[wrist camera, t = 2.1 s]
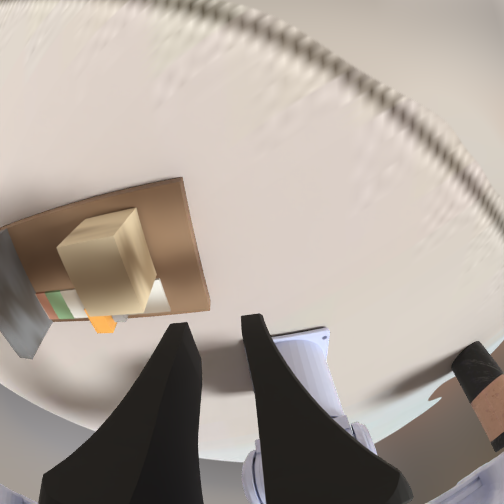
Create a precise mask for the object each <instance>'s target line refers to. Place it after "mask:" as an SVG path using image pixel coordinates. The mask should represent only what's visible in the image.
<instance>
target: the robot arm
mask: <svg viewBox="0 0 504 504" xmlns="http://www.w3.org/2000/svg"><path fill="white" fill-rule="evenodd" d="M241 327H242V336H243V341H244V347H245V352H246V357H247V361H248V366H249V371H250V376H251V380H252V385H253V389H254V393H255V399H256V409H257V418H258V428H259V438H260V439H258V440H255V445H256V450H253V451H251V452H250V453H249V454H248V456H247V458H246V459H245V461H244V464H243V467H242V482H243V488H244V492H245V495H246V497H247V499H248V501H249V503H250V504H407V503H408V502H410V501H412V499H413V494H412V490H411V488H410V486H409V484H408V482H407V480H406V479H405V477H404V476H403V475H402V473H401V472H400V471H399V470H398V469H397V468H395V467H394V466H392V465H391V464H389V463H387V462H386V461H384V460H383V459H381V458H380V457H379V456H377V452H376V449H375V447H374V443H373V441H372V438H371V435H370V433H369V431H368V429H367V427H366V426H365V425H363V424H360V423H359V422H354V423H352V424H351V426H352V431H353V434H352V431H351V428H350V425H349V422H348V419H347V416H346V415H344V412H343V409H342V406H341V403H340V400H339V397H338V394H337V391H336V388H335V385H334V382H333V379H332V376H331V373H330V370H329V367H328V364H327V362H326V359H327V352H328V345H329V337H330V331H329V329H328V328H321V329H316V330H311V331H306V332H300V333H295V334H289V335H283V336H276V337H271V335H270V333H269V331H268V329H267V327H266V324H265V322H264V319H263V315H261V314H252V315H245V316H241ZM323 336H324V337H323ZM201 391H202V367H201V357H200V355H199V352H198V349H197V347H196V344H195V342H194V339H193V336H192V334H191V331H190V328H189V326H188V323H187V322H184V323H173V324H170V325H169V327H168V328H167V330H166V332H165V333H164V335H163V337H162V339H161V341H160V342H159V344H158V346H157V347H156V349H155V351H154V353H153V354H152V356H151V358H150V359H149V361H148V362H147V364H146V366H145V367H144V369H143V371H142V372H141V374H140V375H139V377H138V378H137V380H136V381H135V383H134V384H133V386H132V387H131V389H130V390H129V392H128V393H127V395H126V396H125V397H124V399H123V400H122V401H121V403H120V404H119V405H118V407H117V408H116V409H115V410H114V411H113V413H112V414H111V415H110V416H109V418H108V419H107V420H106V421H105V422H104V423H103V424H102V425H101V426H100V428H99V429H98V430H97V431H96V432H95V433H94V434H93V435H92V436H91V437H90V438H89V439H88V440H87V441H86V442H85V443H84V444H82V445H81V446H80V447H79V448H78V449H77V450H76V451H75V452H73V453H72V454H71V455H70V456H69V457H67V458H66V459H65V460H64V461H62V462H61V463H59V464H58V465H56V466H55V467H54V468H52V469H51V470H49V471H48V472H47V473H45V474H44V475H43V478H42V484H41V490H40V496H39V503H37V502H35V501H34V500H32V499H30V498H28V497H26V496H23V495H21V494H19V493H17V492H15V491H13V490H11V489H9V488H7V487H6V486H4V485H3V484H1V483H0V504H204V503H203V496H202V489H201V480H200V470H199V456H198V430H199V416H200V403H201ZM353 435H354V436H353ZM426 504H504V452H502V453H501V454H500V455H499V456H497V457H496V458H494V459H493V460H491V461H490V462H488V463H486V464H484V465H483V466H481V467H479V468H478V469H476V470H475V471H473V472H472V473H471V474H470V475H468V476H466V477H465V478H463V479H462V480H461V481H459V482H458V483H457V485H456V486H455V487H453V488H452V489H450V490H448V491H447V492H445V493H443V494H442V495H440V496H438V497H437V498H435V499H433V500H431V501H430V502H428V503H426Z"/></svg>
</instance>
